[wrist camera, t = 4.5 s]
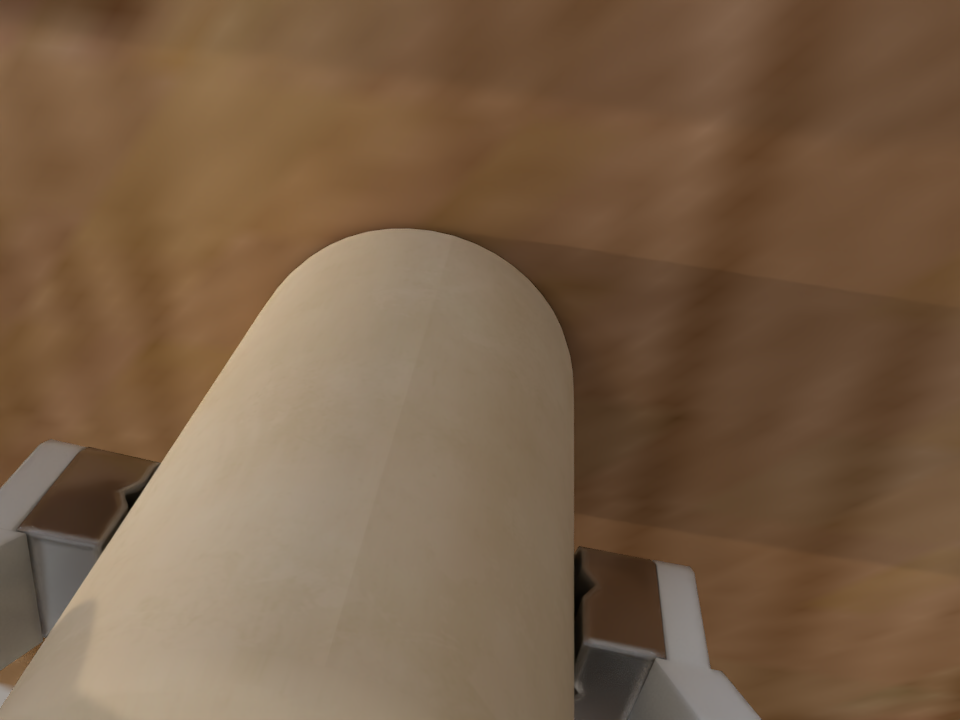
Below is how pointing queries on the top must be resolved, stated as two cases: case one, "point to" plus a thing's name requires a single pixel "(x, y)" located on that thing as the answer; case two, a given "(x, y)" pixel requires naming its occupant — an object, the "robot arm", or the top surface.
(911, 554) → the top surface
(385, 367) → the candle
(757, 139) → the top surface
